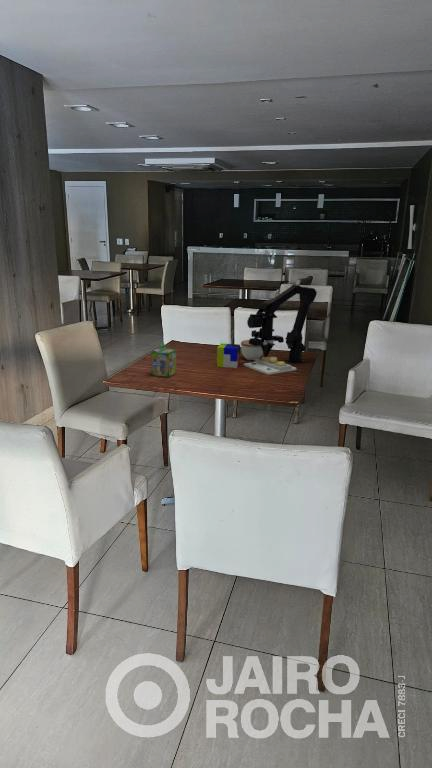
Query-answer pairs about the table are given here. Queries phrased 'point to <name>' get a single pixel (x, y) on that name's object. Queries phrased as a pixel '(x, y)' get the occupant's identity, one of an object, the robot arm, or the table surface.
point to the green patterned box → (163, 361)
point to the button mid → (273, 360)
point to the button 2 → (280, 363)
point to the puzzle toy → (228, 355)
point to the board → (268, 367)
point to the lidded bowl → (251, 350)
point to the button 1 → (265, 358)
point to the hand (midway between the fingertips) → (265, 356)
